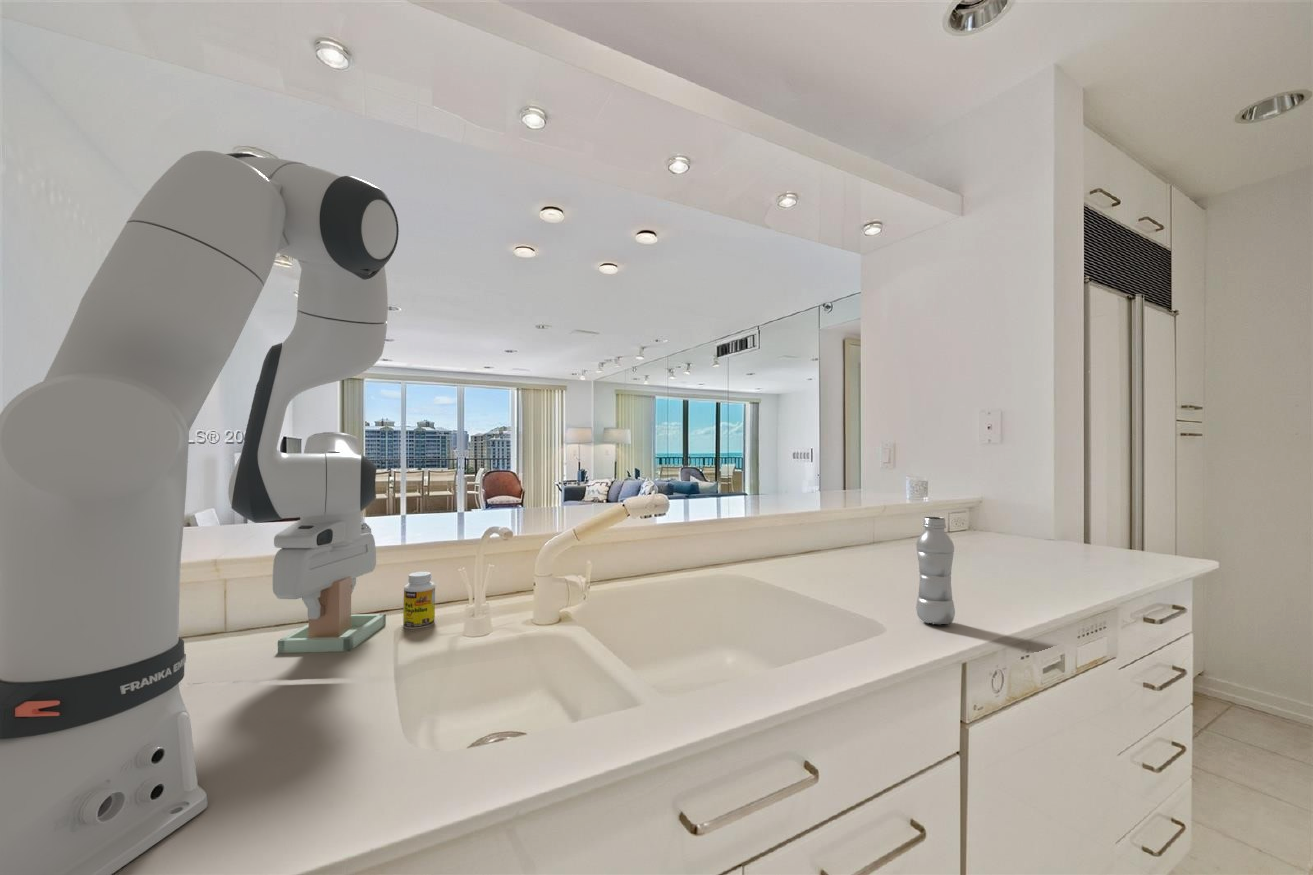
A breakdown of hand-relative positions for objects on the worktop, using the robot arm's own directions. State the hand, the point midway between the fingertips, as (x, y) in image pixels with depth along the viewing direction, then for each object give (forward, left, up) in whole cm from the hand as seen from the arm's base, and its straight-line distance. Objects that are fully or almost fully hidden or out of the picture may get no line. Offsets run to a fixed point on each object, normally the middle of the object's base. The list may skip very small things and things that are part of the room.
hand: (329, 611), depth 88 cm
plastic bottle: (+4, -108, -6) cm, 109 cm away
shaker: (0, 0, -4) cm, 4 cm away
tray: (+2, 0, -6) cm, 6 cm away
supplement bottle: (+9, -11, -6) cm, 15 cm away
